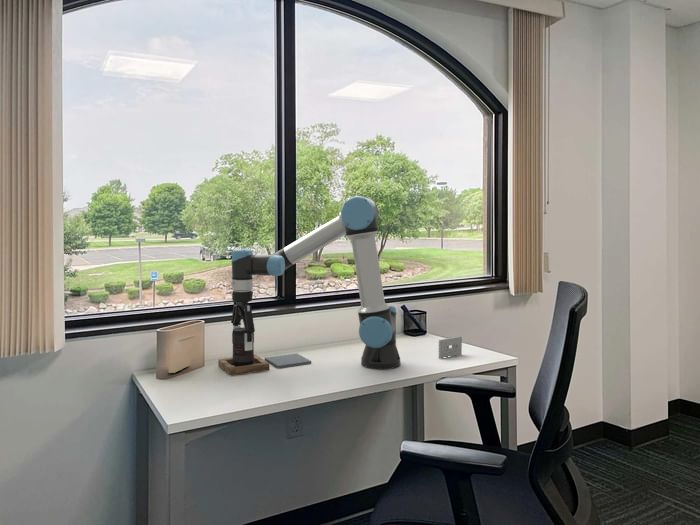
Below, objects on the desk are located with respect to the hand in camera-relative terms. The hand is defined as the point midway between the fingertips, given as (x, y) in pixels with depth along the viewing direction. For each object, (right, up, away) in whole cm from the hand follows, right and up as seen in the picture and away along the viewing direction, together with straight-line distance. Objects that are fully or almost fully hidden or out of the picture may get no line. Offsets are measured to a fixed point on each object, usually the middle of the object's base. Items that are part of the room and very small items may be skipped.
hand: (242, 346), depth 211 cm
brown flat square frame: (0, -8, +1) cm, 8 cm away
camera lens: (0, -9, +1) cm, 9 cm away
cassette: (+81, -7, +17) cm, 84 cm away
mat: (+16, -8, +9) cm, 20 cm away
